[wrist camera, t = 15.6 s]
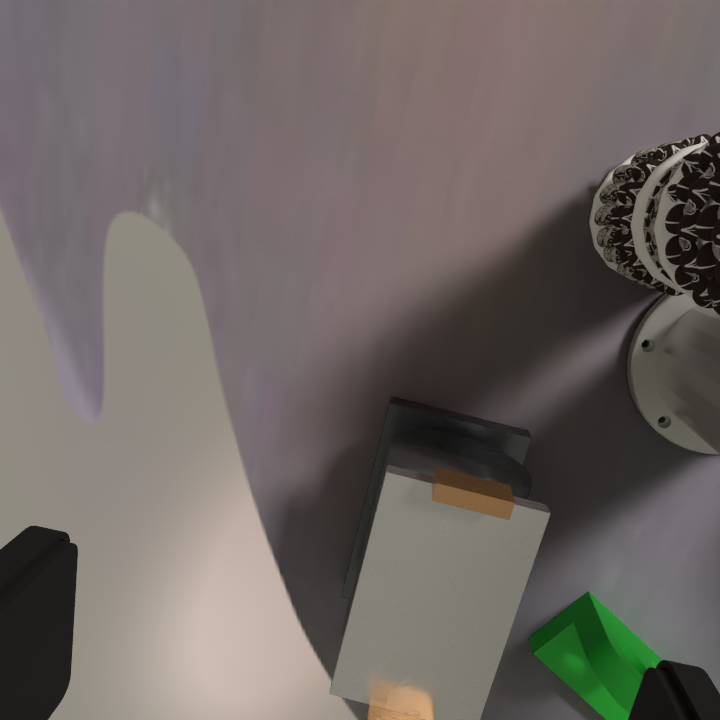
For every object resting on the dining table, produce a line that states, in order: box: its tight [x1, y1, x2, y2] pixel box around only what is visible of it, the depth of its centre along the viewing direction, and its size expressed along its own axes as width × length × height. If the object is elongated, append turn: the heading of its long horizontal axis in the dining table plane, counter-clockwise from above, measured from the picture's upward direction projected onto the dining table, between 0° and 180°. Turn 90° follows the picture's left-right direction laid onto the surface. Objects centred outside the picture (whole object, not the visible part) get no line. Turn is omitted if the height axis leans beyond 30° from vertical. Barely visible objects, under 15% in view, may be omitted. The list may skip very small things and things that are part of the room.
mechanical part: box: [529, 592, 663, 720], centre depth 44 cm, size 12×6×8 cm, turn 47°
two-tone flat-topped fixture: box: [330, 397, 551, 720], centre depth 40 cm, size 10×17×14 cm, turn 167°
